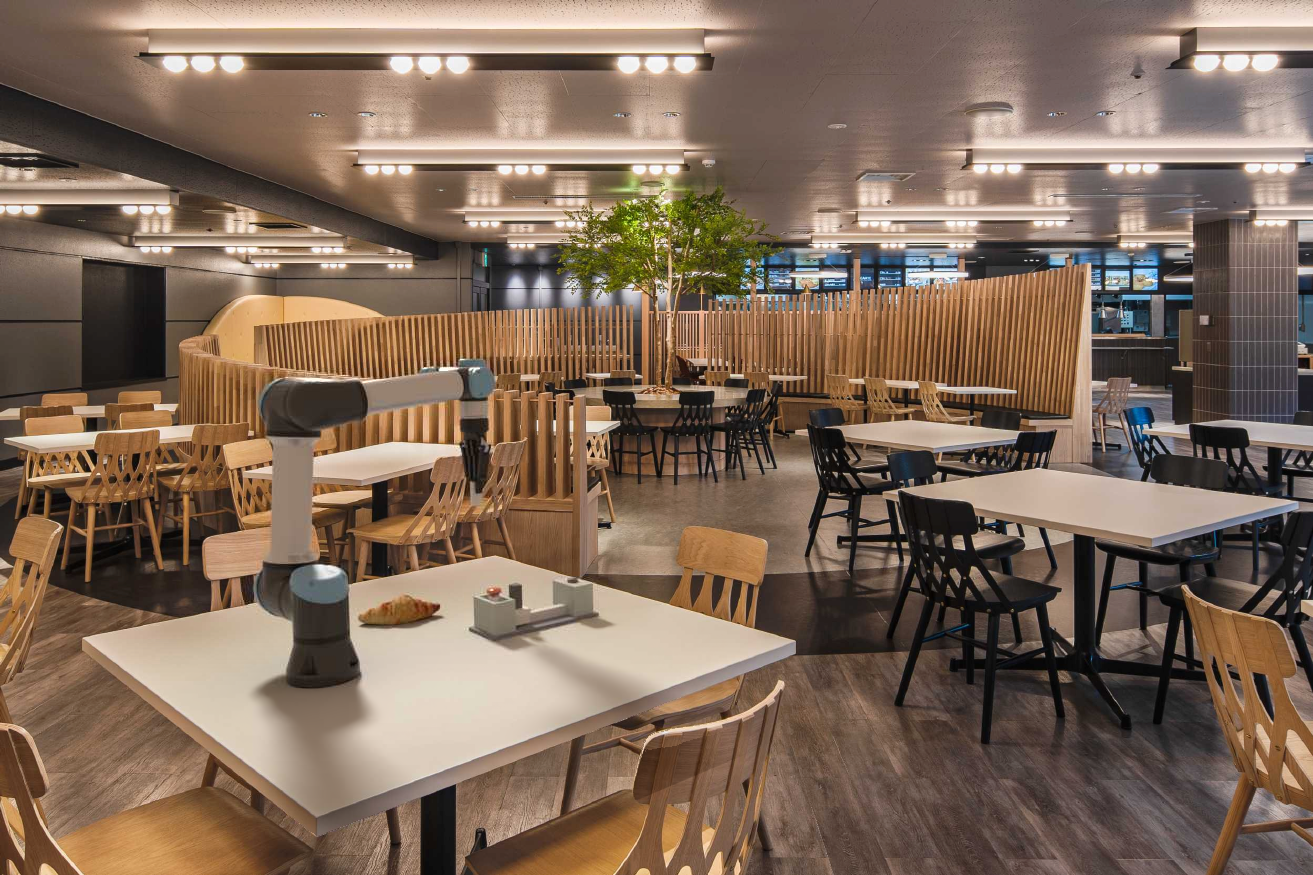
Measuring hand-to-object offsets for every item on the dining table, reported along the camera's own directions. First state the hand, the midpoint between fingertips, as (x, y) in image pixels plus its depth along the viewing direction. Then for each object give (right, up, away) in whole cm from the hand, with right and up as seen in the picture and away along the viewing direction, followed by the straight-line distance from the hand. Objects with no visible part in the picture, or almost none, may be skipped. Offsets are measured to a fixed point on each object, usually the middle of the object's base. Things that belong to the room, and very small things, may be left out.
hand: (476, 505), depth 243 cm
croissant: (-20, -30, -2) cm, 36 cm away
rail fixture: (+17, -30, -7) cm, 35 cm away
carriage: (+12, -29, -11) cm, 33 cm away
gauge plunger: (+8, -29, -15) cm, 33 cm away
